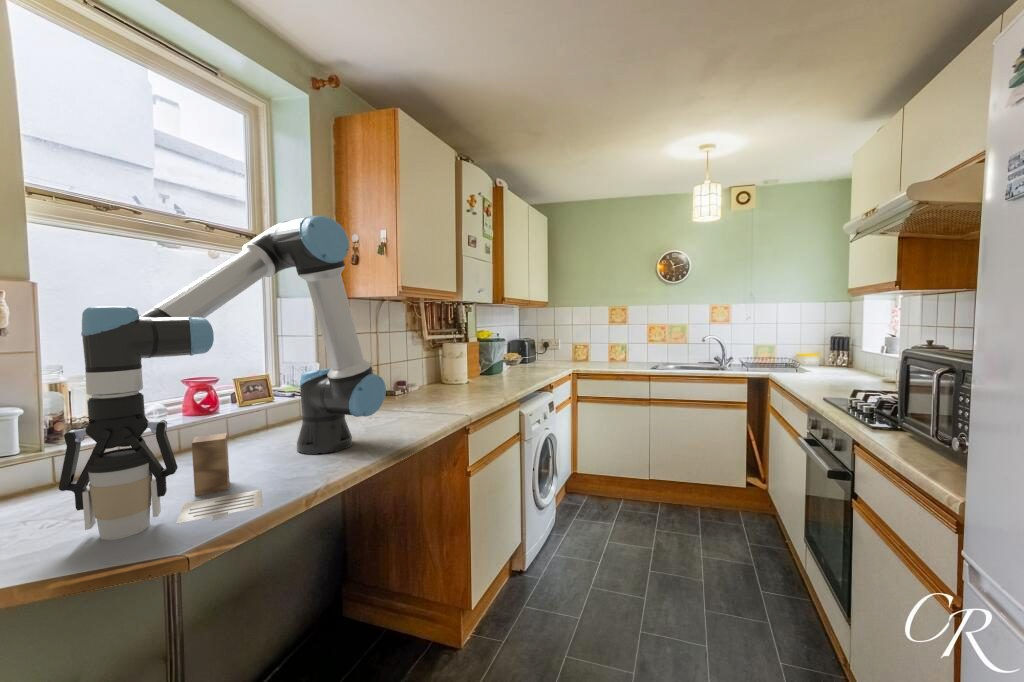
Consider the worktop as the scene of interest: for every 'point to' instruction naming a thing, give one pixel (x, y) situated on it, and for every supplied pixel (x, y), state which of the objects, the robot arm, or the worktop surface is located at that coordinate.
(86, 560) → the worktop surface
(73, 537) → the worktop surface
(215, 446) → the walnut block
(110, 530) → the coffee cup
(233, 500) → the cream flat slotted plate
